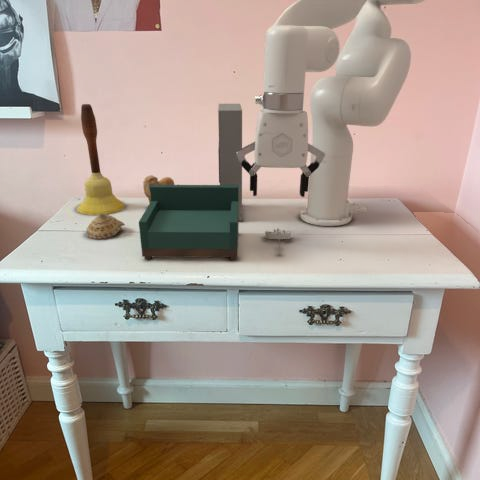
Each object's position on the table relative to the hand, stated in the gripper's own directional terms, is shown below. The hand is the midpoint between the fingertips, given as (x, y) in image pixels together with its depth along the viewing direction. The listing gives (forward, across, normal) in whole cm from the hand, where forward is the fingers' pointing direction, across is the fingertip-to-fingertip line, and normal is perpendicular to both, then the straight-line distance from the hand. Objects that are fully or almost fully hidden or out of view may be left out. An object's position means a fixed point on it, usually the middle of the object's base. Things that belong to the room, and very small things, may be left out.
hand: (278, 194), depth 98 cm
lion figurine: (+11, -29, +28) cm, 42 cm away
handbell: (+11, -45, +26) cm, 53 cm away
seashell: (+11, -39, +8) cm, 41 cm away
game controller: (+11, 0, 0) cm, 11 cm away
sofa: (+11, -18, 0) cm, 21 cm away
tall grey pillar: (+11, -11, +22) cm, 27 cm away
